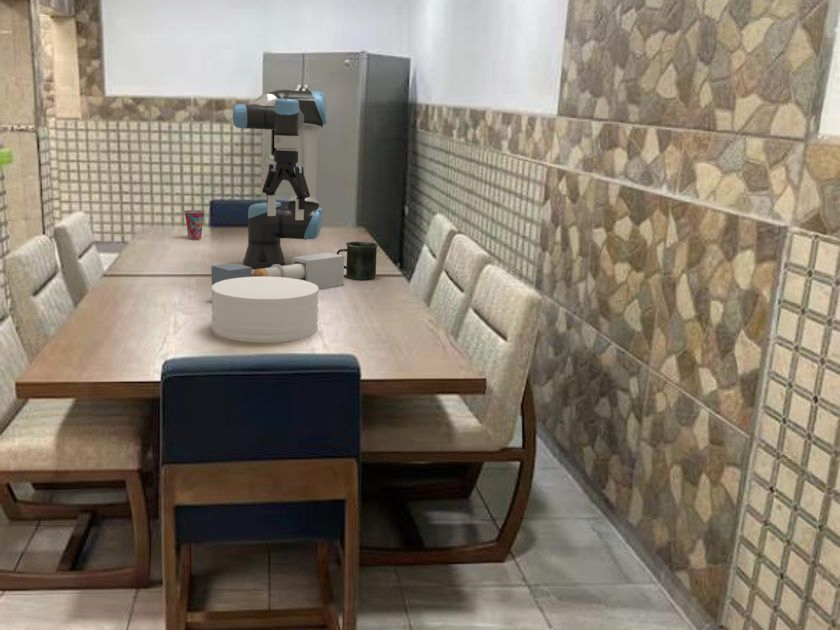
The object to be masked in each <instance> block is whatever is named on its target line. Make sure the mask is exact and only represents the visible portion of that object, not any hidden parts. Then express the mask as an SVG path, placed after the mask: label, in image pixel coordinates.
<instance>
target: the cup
mask: <svg viewBox="0 0 840 630" xmlns="http://www.w3.org/2000/svg"><path fill="white" fill-rule="evenodd" d="M183 212H184V215H185V223H186V224H185V225H186V229H187V236H188V237H187V238H188V240H189V239H190V241H191V240H192V241H199V240H198V239H202V233H203V223H204V218H205V217H204V216H205V213H206V212H205V210H200V209H189V210H184V211H183Z"/></svg>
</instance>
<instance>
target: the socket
mask: <svg viewBox="0 0 840 630" xmlns="http://www.w3.org/2000/svg"><path fill="white" fill-rule="evenodd" d="M241 277H253V268H252V267H248V266H244V265H243V264H239V263H235V262H231V263H230V262H229V263H222V264H215V265H214V264H213V265H211V286H212V285H213V284H215V283H217V282H220V281H223V280H227V279H233V278H241ZM212 295H213V294H212V293H211V296H212Z"/></svg>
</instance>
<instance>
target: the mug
mask: <svg viewBox="0 0 840 630" xmlns="http://www.w3.org/2000/svg"><path fill="white" fill-rule="evenodd" d="M345 246H346V248H341V249H338V250H337V251H336V254H337V255H340V253H341V252H346V265H344V270H345V271H346V273H345V275H346V277H347V278H348V279H351V280H361V281H367V280H368V281H369V280H373V279H375V278H376V276H377V248H378V246H379V244H377V243H375V242H371V241H348V242H346V243H345Z"/></svg>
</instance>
